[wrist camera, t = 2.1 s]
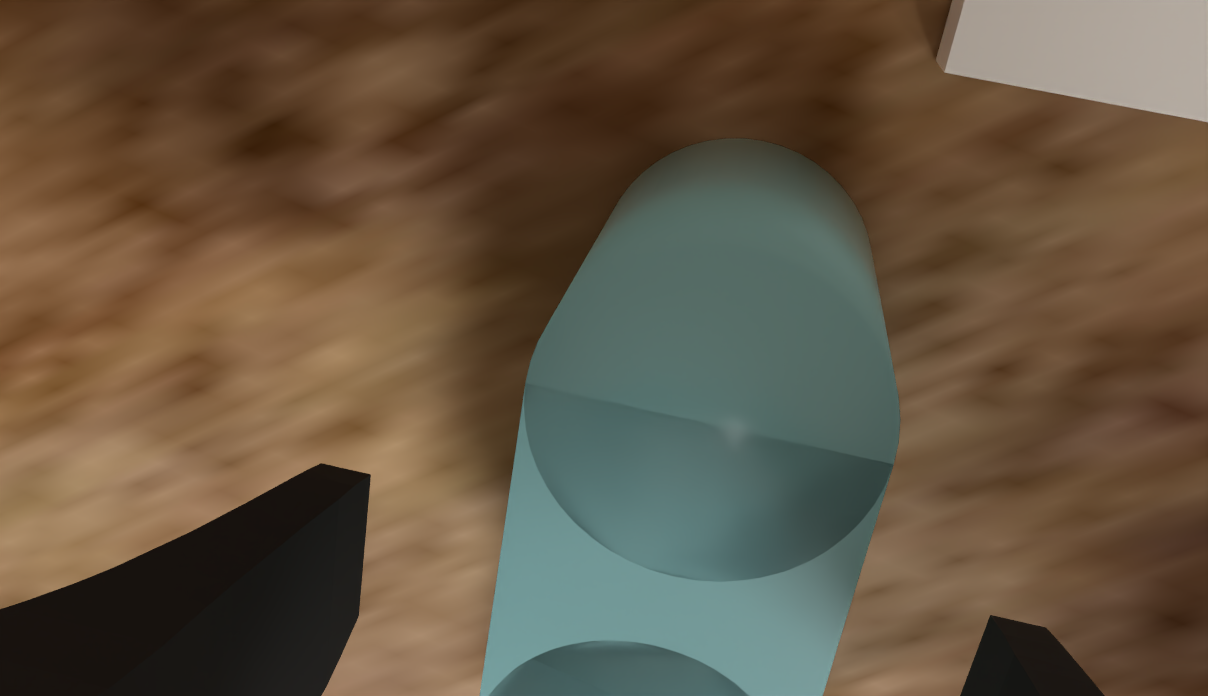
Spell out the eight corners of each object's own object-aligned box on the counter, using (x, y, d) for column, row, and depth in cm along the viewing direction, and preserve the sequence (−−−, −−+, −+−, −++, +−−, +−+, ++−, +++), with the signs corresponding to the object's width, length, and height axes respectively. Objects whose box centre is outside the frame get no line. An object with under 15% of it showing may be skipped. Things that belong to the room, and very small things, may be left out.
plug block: (905, 169, 15) (947, 288, 11) (740, 764, 20) (721, 1024, 15) (623, 113, 16) (550, 207, 11) (523, 710, 20) (442, 949, 16)
